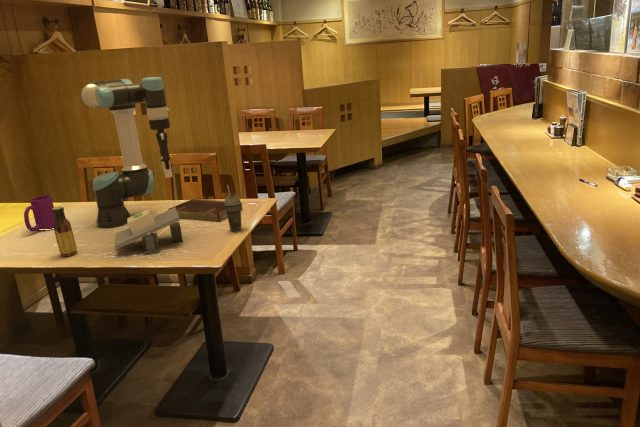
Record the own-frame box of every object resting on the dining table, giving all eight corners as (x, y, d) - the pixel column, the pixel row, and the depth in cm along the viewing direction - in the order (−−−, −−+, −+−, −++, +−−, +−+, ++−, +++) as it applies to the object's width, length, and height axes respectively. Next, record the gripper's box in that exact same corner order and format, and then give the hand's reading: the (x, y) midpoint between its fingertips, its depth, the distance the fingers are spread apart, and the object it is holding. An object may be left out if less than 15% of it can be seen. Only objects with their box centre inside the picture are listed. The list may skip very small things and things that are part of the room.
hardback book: (242, 210, 247) (241, 201, 245) (219, 223, 231) (218, 212, 229) (194, 207, 259) (193, 198, 258) (169, 218, 243) (168, 208, 242)
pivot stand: (144, 255, 197) (140, 238, 195) (142, 238, 217) (139, 222, 215) (184, 247, 202) (182, 231, 200) (179, 231, 222) (177, 216, 220)
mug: (63, 225, 244) (56, 195, 240) (37, 236, 230) (29, 205, 226) (48, 224, 247) (40, 195, 242) (21, 236, 233) (13, 204, 228)
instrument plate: (117, 251, 196) (107, 233, 193) (118, 238, 211) (108, 221, 208) (180, 222, 202) (171, 204, 199) (177, 211, 216) (169, 194, 213)
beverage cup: (241, 233, 214) (235, 186, 208) (224, 233, 216) (218, 187, 210) (246, 227, 221) (241, 182, 215) (231, 227, 222) (225, 182, 216)
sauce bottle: (64, 252, 207) (53, 205, 201) (80, 251, 208) (69, 204, 202) (57, 258, 201) (46, 210, 195) (74, 257, 201) (62, 208, 195)
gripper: (170, 120, 187) (180, 178, 194) (166, 114, 208) (175, 168, 215) (149, 122, 185) (159, 181, 192) (147, 116, 206) (156, 170, 212)
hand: (168, 174), depth 203 cm, fingers open, 10 cm apart
